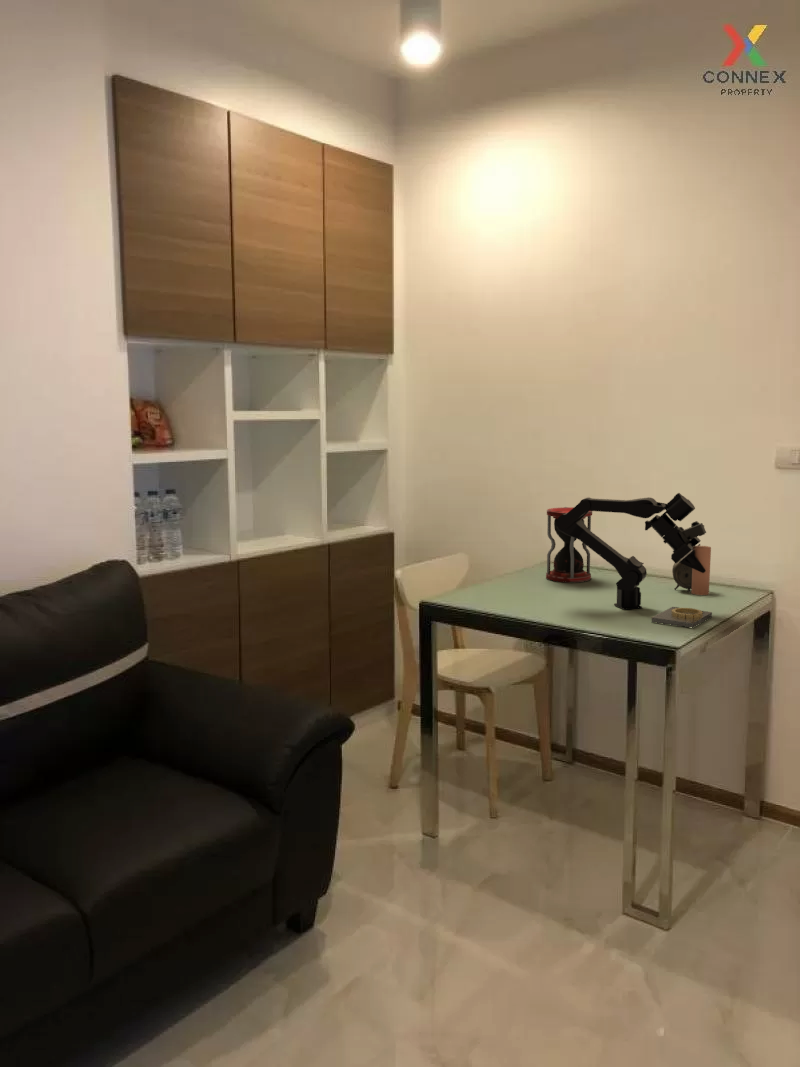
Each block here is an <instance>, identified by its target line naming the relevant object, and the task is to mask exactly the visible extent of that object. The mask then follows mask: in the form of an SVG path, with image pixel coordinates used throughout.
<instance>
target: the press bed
mask: <svg viewBox="0 0 800 1067" xmlns="http://www.w3.org/2000/svg"><path fill="white" fill-rule="evenodd" d="M710 617H711V618H713V612H712V611H708V610H707V611H706V610H700V609H698V608H692V607H679V606H678V607H677V606H671V607H669V608H667V609H666V610H663V611H662V612H660V613H657V614H656V615H653V616H652V617H651V623H652V622H657V623H656V624H659V623H663V624H662V625H665V624H671V625H670V626H672V625H677V626H676V627H679V626H685V627H692V628H693V627H694V626H696V625H698V624H699V625H701V624H702V622H703V623H704V621H705V620H706V621H708V620H709V618H710ZM711 618H710V619H711ZM707 619H708V620H707ZM706 621H705V622H706ZM700 623H701V624H700ZM699 625H698V626H699ZM685 627H684V628H685ZM696 627H697V626H696ZM692 628H691V629H692ZM694 628H695V627H694ZM694 628H693V629H694Z"/></svg>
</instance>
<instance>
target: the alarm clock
mask: <svg viewBox="0 0 800 1067" xmlns="http://www.w3.org/2000/svg"><path fill="white" fill-rule="evenodd" d="M681 560H682V559H681ZM681 560H679V561H678V562H677V563H675V562H673V565H672V572H671V573H672V577H673V580H674V581H675V583H676V586H675V587H674V590H677V589H678V588H679V587H681V588H683V589H686V590H687V593H691V588H692V568H691V567H688V566H686V565H684V564H681V563H679V562H680V561H681Z"/></svg>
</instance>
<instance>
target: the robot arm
mask: <svg viewBox="0 0 800 1067" xmlns="http://www.w3.org/2000/svg"><path fill="white" fill-rule="evenodd" d="M695 509H696V506H695V505H694V504H693V503H692V501H691V500H690V499H688V498H686V497H685V496H684V495H682V494H681V493H680V492H678V493H676V494H675V495H674V496H673V498H671V499H670V500H669V501H668V502H667V503H665V502H659V501H656V499H655V498H653V497H642V498H641V497H640V498H634V499H627V500H625V499H610V498H609V499H608V498H606V499H605V498H591V497H584V498H583V499H581V500H580V501H579V503H577V504H576V505H575V506H574V507H573V509H572V510H570V511H569V512H568V513H565V514H563V515H561V516H559V517H558V519H557V522H556V524H557V528H558V529H559V530H560V531H561V532H563V533H565V534H567V535H569V536H571V537H574V538H576V540H579V541H580V542H581V543H584V544H585V545H586V547H587V548H589V549H590V550H592V551H593V552H594V553H595V554H597V555H598V556H600V557H601V558H602V559H603V560H604V561H606V562H607V563H609V565H611V566H613V568H614V569H615V570H616V572H617V574H618V575H619V576H620V577H621V578H620V579H619V580H618V581H616V583H615V586H616V602H615V603H614V604H613V605H614V606H615V607H616V608H619V609H621V610H635V609H643V606H642V592H641V588H640V587H639V585H640V584H641V583H642V581H644V580H645V579H646V577H647V574H648V573H647V568H646V567H645V566H644V562H641V561H639V560H638V558H636V557H635V556H634V555H632V556H630V557H629V558H628V557H626V556H624V555H623V554H621V553H619V552H618V551H617V550H616V549H614V548H613V547H612V546H611V545H610V544H608V543H607V542H606V541H604V540H603V539H602V538H601V537H599V536H598V535H596V534H595V533H594V532H593V531H592V530H591V531H590V530H589V529H588V528H587V525H586V523H585V521H584V522H583V521H582V520H581V519H582V518H583V517H584V516H585V515H586V514H587V513H588V512H589V511H592V512H601V513H617V514H627V515H631V516H633V517H637V518H640V519H648V518H649V519H650V518H651V517H652V518H651V519H650V520H645V521H644V525H645V526H644V530H645V531H648V530H650V529H651V528H652V529H653V531H655V532H656V533H657V535H658V536H660V538H662V540H663V541H662V542H663V543H664V544H667V545H668V546H669V547H670V548H671V549H672V553H671V557H670V559H671V560H672V561H673V563H677V562H678V561H679V560H681V559H682V560H681V561H680V562H679V563H681V564H684V565H686V566H688V567H691V568H693V569H695V570H697V571H699V572H702V573H704V572H705V571H706V570H705V568H704V567H703V565H702V564H701V562H700V561H699V560H698V558H697V557H696V548H695V549H694V550H693V547H694V546H701V543H700V542H701V539H700V538H699V537H702V536H704V535H706V534H707V531H706V528H705V525H704V524H703V523H702V522H699V521H697V520H696V521H693V522H692V523H690V524H691V525H690V526H691V527H687V528H683V527H682V526H678V525H677V524H676V522H677V521H679V522H682V521H683V520H684V519H685V518H686V517H688V516H689V515H690V514H691V513H693V511H694V510H695ZM664 511H665V512H664ZM662 512H664V513H662ZM660 513H662V514H661V515H658V514H660ZM697 544H698V545H697Z"/></svg>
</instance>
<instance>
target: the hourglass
mask: <svg viewBox="0 0 800 1067" xmlns="http://www.w3.org/2000/svg"><path fill="white" fill-rule="evenodd" d="M573 508H574V507H571V506H570V507H567V506H565V507H552V508H547V509H546V515H547V537H548V538H549V540H550V543H551V547H550V549H549V550H548V552H547V555H546V572H545V578H546V579H547V580H548V579H549V580H548V581H551V580H553V581H552V582H557V581H558V582H557V583H559V582H560V583H570V582H574V583H584V581H585V582H588V581H590V580H591V579H592V573H591V553H590V550H589V549H588V546H587V545H585V544H584V543H583V542H581V543H582V544H581V546H582V549H583V550H584V551H585V554H586V570H584V565H585V563H584V558H583V556H582V554H581V553H580V552H579V551H578V549H576V547H575V546H574V545H575V544H574V543H575V542H576V541H577V539H576V538H574V537H571V536H569V535H567V534H565V533H563V532H561V531H560V530H559V529H558V528H557V524H556V522H557V519H558V517H559V516H561V515H563V514H565V513H568V512H569V511H570V510H572V509H573ZM592 515H593V511H589V512H588V513H587V514H586V515H585V516H584V517H583V518H582V519H581V520H582V521H583V522H584V523H585V519H586V518H587V525H586V527H587V528H588V529H589V530H590V531H591V532H592V530H591V527H592V526H591V525H592V524H591V522H592ZM552 519H554V522H553V523H554V524H553V525H554V526H553V527H554V528H553V529H554V531H555V532H556V535H557V536H558V538H560V539H561V541H562V542H563V547H562V548H561V549H559V551H558V552H557V553H556V554H555V556H554V558H553V569H552V570H551V554H552V552H553V551H554V550H555V549H556V541H555V539H554V538H553V536H552V534H551V532H552V526H551V525H552V524H551V523H552Z"/></svg>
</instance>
